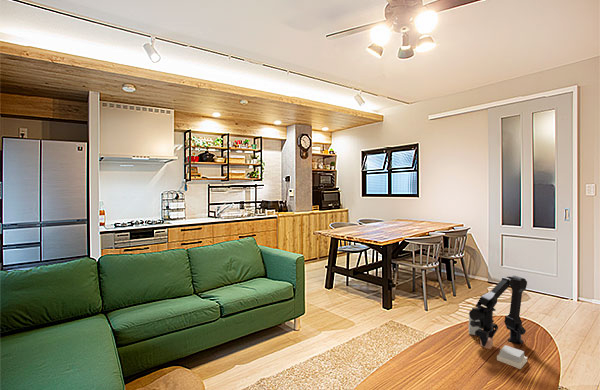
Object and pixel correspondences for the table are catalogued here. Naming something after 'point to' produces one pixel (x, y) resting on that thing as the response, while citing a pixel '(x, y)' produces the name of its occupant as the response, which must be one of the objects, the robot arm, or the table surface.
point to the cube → (488, 343)
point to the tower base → (512, 363)
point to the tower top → (512, 353)
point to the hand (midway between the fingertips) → (486, 343)
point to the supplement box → (472, 329)
